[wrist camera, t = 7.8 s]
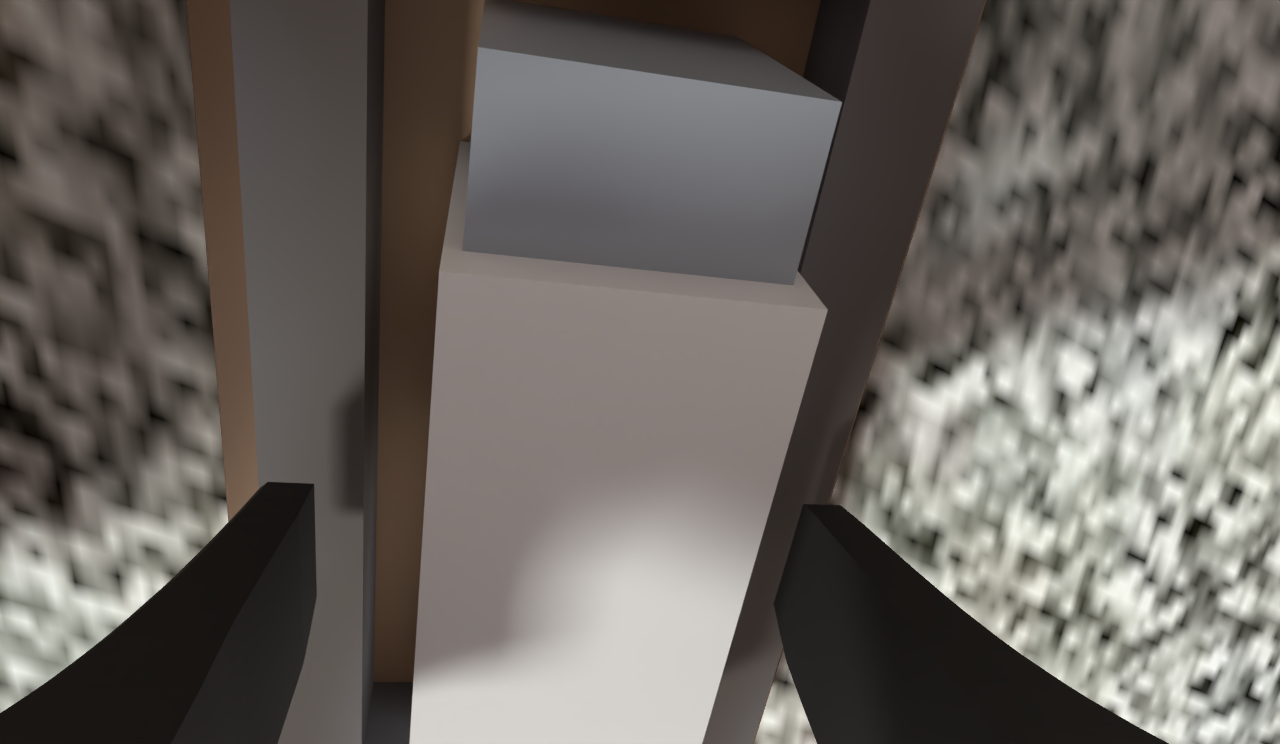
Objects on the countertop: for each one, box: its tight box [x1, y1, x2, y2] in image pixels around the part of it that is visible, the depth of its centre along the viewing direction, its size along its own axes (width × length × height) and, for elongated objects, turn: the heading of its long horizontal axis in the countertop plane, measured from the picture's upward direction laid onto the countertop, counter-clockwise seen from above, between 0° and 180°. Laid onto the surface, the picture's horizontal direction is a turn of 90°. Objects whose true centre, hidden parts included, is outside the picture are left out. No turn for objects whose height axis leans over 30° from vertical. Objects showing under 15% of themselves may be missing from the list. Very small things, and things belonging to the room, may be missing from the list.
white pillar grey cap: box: [409, 0, 842, 744], centre depth 13 cm, size 4×12×5 cm, turn 171°
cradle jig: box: [186, 0, 987, 744], centre depth 15 cm, size 11×18×3 cm, turn 171°
